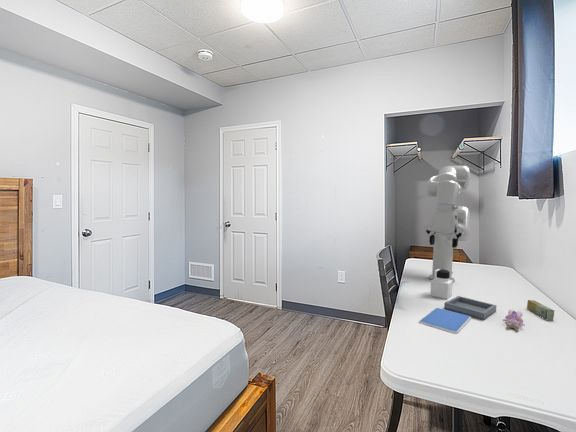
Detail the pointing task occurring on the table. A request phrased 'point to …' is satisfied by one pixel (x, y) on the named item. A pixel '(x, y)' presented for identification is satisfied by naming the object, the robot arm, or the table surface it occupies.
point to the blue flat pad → (445, 320)
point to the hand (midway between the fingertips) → (442, 246)
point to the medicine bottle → (441, 284)
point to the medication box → (540, 310)
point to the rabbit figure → (514, 319)
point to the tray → (470, 307)
